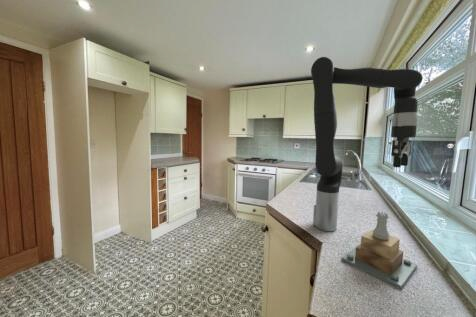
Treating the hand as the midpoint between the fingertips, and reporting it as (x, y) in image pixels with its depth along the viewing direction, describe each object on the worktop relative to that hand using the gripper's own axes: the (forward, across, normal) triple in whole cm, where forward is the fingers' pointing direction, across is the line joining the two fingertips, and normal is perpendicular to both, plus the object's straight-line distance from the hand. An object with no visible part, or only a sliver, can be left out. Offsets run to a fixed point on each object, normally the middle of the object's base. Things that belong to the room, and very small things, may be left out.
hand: (400, 166), depth 79 cm
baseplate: (+30, +25, +3) cm, 39 cm away
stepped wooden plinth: (+30, +25, +3) cm, 39 cm away
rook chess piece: (+21, +25, +3) cm, 33 cm away
